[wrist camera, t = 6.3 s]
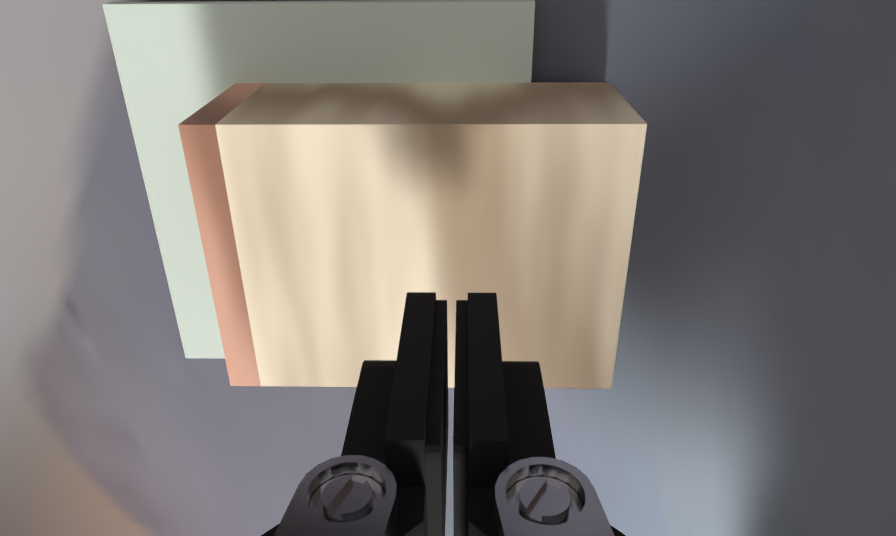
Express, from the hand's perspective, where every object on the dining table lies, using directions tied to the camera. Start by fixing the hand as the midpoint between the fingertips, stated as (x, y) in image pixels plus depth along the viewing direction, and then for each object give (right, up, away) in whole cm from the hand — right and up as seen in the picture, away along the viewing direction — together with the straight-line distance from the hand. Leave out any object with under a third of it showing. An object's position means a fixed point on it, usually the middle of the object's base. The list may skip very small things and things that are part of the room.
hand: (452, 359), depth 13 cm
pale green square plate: (-3, +4, +7) cm, 9 cm away
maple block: (+4, +3, +5) cm, 7 cm away
